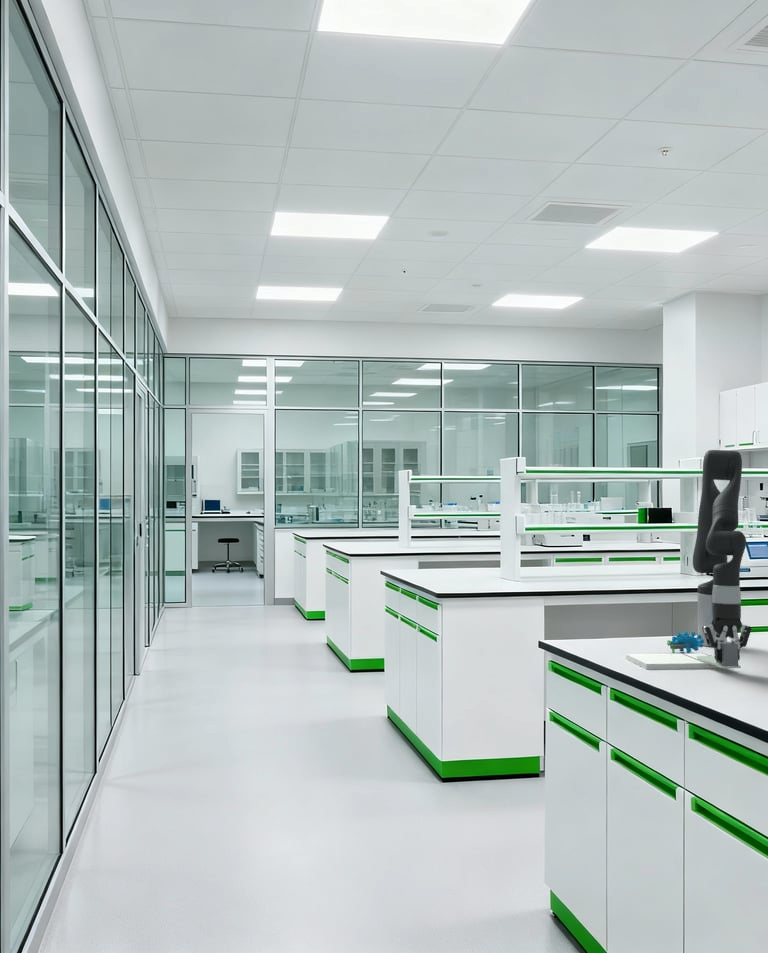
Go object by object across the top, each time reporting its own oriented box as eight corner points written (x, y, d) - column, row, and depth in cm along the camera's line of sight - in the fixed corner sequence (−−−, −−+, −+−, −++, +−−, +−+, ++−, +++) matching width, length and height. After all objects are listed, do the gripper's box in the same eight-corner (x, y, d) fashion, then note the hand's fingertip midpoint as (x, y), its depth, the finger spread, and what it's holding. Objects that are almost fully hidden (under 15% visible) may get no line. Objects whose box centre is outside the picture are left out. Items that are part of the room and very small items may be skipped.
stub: (696, 658, 257) (696, 635, 257) (714, 657, 257) (713, 635, 257) (722, 668, 241) (721, 644, 241) (740, 668, 241) (740, 644, 241)
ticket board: (626, 659, 264) (626, 653, 264) (701, 658, 266) (701, 653, 266) (646, 669, 248) (646, 663, 248) (726, 668, 250) (726, 662, 250)
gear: (705, 647, 276) (701, 628, 270) (707, 662, 272) (703, 643, 266) (669, 650, 280) (664, 631, 274) (670, 665, 276) (666, 646, 270)
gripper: (744, 599, 248) (744, 659, 248) (696, 599, 247) (696, 660, 247) (757, 602, 241) (758, 664, 240) (708, 602, 240) (708, 664, 239)
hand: (727, 661), depth 243 cm, fingers closed on stub, 4 cm apart
